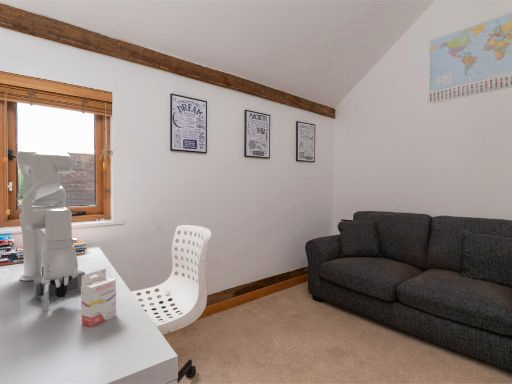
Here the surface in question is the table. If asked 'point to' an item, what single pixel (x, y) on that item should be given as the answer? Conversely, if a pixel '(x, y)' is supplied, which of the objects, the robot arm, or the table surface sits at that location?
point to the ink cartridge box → (97, 298)
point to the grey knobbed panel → (39, 287)
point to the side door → (46, 296)
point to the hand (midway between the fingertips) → (61, 296)
